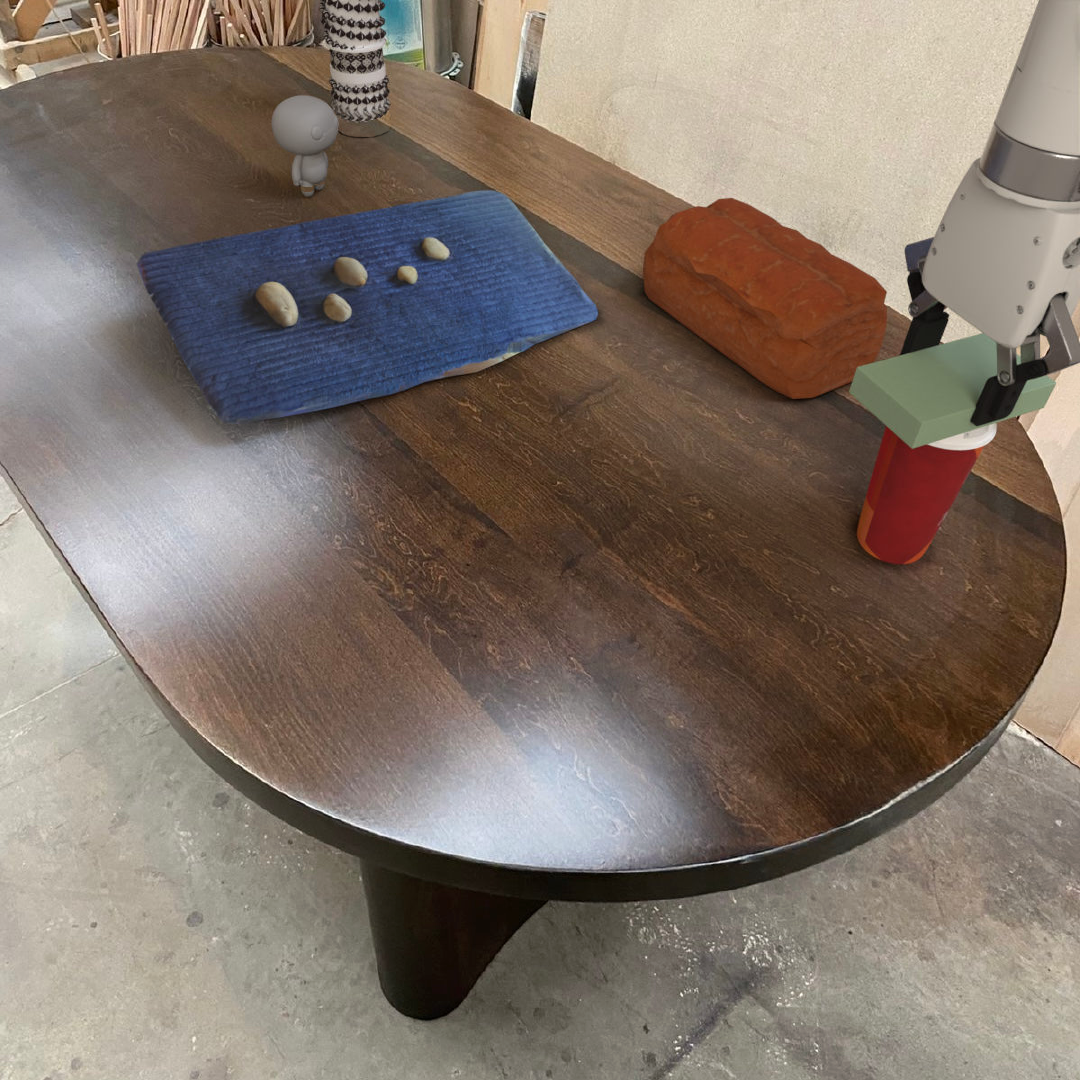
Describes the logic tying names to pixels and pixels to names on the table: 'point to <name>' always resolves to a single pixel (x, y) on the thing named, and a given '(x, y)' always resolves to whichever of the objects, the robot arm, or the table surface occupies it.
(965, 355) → the sage green foam block
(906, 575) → the table surface
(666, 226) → the bread
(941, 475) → the coffee cup
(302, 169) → the figurine
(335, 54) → the decorative candle
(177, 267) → the mat
